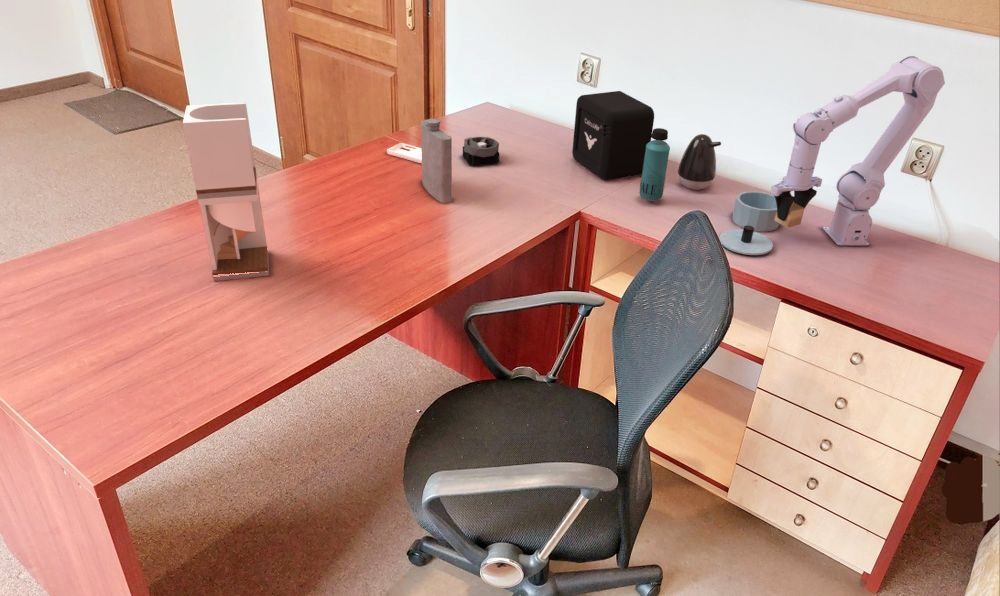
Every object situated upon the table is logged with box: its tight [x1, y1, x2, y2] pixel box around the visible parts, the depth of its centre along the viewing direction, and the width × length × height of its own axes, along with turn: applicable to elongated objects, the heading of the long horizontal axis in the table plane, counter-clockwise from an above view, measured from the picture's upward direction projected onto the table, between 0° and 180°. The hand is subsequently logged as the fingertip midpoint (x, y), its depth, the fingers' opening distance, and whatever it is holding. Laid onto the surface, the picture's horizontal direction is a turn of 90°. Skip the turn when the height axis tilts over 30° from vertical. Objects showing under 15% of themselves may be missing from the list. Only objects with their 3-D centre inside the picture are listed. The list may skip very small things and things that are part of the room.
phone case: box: [386, 142, 422, 165], centre depth 227 cm, size 7×1×15 cm
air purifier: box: [571, 90, 655, 182], centre depth 219 cm, size 20×15×20 cm
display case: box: [182, 102, 270, 282], centre depth 159 cm, size 11×11×35 cm
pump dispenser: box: [677, 133, 722, 191], centre depth 210 cm, size 10×10×15 cm
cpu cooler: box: [462, 136, 500, 167], centre depth 224 cm, size 10×6×10 cm
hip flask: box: [420, 118, 453, 204], centre depth 200 cm, size 16×4×20 cm, turn 26°
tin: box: [731, 190, 780, 232], centre depth 195 cm, size 12×12×6 cm
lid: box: [718, 226, 774, 256], centre depth 184 cm, size 13×13×5 cm
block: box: [774, 202, 806, 228], centre depth 186 cm, size 4×4×4 cm
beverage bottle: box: [639, 127, 671, 201], centre depth 200 cm, size 6×7×20 cm
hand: (788, 217), depth 186 cm, fingers closed on block, 4 cm apart
